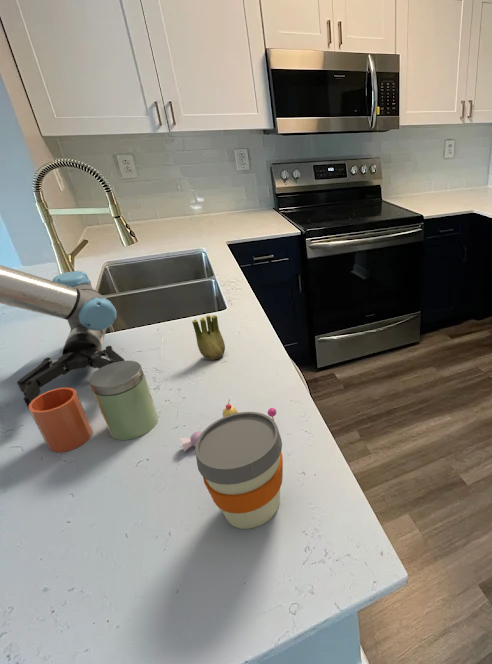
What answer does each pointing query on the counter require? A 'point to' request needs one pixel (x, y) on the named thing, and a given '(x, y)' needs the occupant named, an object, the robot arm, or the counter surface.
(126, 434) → the jar
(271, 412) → the candy
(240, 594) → the counter surface
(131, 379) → the jar lid
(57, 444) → the cup
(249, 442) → the reusable coffee cup
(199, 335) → the fennel bulb
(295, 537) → the counter surface
